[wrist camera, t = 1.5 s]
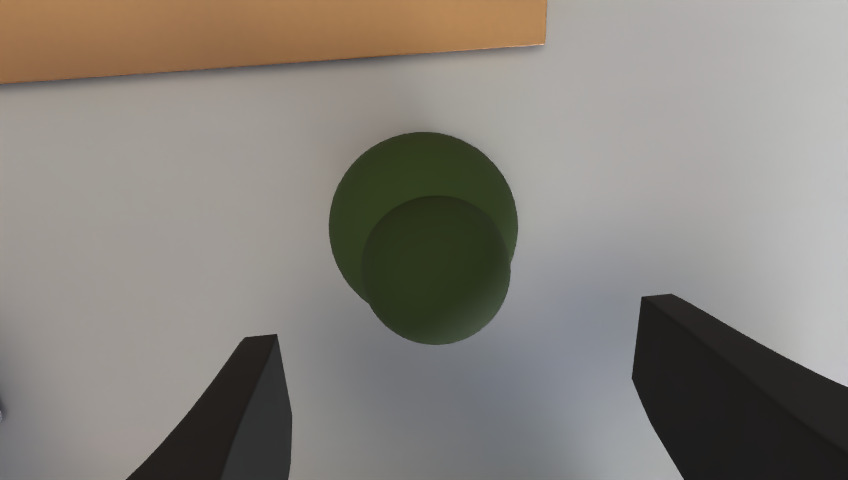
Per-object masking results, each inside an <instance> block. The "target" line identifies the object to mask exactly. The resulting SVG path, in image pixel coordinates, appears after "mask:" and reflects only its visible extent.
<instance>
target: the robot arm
mask: <svg viewBox="0 0 848 480" xmlns="http://www.w3.org/2000/svg"><path fill="white" fill-rule="evenodd" d="M632 380H633V382H634V385H635V387H636V390H637V392H638V395H639V397H640V400H641V402H642V405H643V407H644V409H645V411H646V414H647V416H648V418H649V421H650V423H651V424H652V426H653V428H654V430H655V431H656V433H657V435H658V437H659V438H660V440H661V442H662V443H663V445H664V447H665V448H666V450H667V452H668V454H669V455H670V457H671V459H672V460H673V462H674V464H675V465H676V467H677V469H678V470H679V472H680V474H681V475H682V477H683V479H684V480H848V387H846V386H844V385H841V384H839V383H837V382H834V381H832V380H830V379H828V378H826V377H824V376H822V375H819V374H817V373H815V372H813V371H811V370H809V369H807V368H805V367H803V366H801V365H800V364H798V363H796V362H794V361H792V360H790V359H788V358H786V357H784V356H782V355H780V354H778V353H776V352H774V351H773V350H771V349H769V348H767V347H765V346H763V345H762V344H760V343H758V342H756V341H754V340H753V339H751V338H749V337H747V336H746V335H744V334H742V333H740V332H739V331H737V330H735V329H733V328H732V327H730V326H728V325H727V324H725V323H723V322H721V321H720V320H718V319H716V318H715V317H713V316H711V315H709V314H708V313H706V312H704V311H703V310H701V309H699V308H697V307H696V306H694V305H692V304H690V303H688V302H687V301H685V300H683V299H681V298H679V297H677V296H675V295H673V294H664V295H654V296H645V297H642V298H641V307H640V315H639V323H638V331H637V339H636V348H635V356H634V364H633V372H632ZM1 418H2V415H1V411H0V420H1ZM291 442H292V412H291V406H290V401H289V396H288V390H287V385H286V380H285V374H284V369H283V363H282V358H281V353H280V347H279V342H278V337H277V334H272V335H263V336H253V337H245V338H244V339H243V340H242V341H241V342H240V344H239V345H238V346H237V348H236V349H235V351H234V352H233V353H232V355H231V356H230V358H229V359H228V361H227V362H226V363H225V365H224V366H223V368H222V369H221V370H220V372H219V373H218V374H217V376H216V377H215V379H214V380H213V381H212V383H211V384H210V385H209V387H208V388H207V389H206V390H205V392H204V393H203V394H202V396H201V397H200V398H199V399H198V401H197V402H196V403H195V405H194V406H193V407H192V408H191V410H190V411H189V412H188V413H187V415H186V416H185V417H184V418H183V419H182V420H181V422H180V423H179V424H178V425H177V426H176V427H175V428H174V430H173V431H172V432H171V433H170V434H169V435H168V437H167V438H166V439H165V440H164V441H163V442H162V443H161V445H160V446H159V447H158V448H157V449H156V450H155V451H154V452H153V453H152V454H151V455H150V456H149V457H148V458H147V459H146V460H145V462H144V463H143V464H142V465H141V466H140V467H139V468H137V469H136V470H135V471H134V472H133V473H132V474H131V475H130V476H129V477H128V478H127V479H126V480H288V477H289V471H290V464H291Z"/></svg>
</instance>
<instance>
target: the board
mask: <svg viewBox="0 0 848 480" xmlns="http://www.w3.org/2000/svg"><path fill="white" fill-rule="evenodd" d="M546 11H547V0H0V84H7V83H21V82H34V81H48V80H62V79H76V78H90V77H104V76H117V75H131V74H145V73H159V72H173V71H187V70H200V69H214V68H228V67H242V66H256V65H270V64H283V63H297V62H311V61H325V60H339V59H352V58H366V57H380V56H394V55H408V54H422V53H435V52H449V51H463V50H477V49H491V48H505V47H518V46H532V45H544V44H545V37H546Z"/></svg>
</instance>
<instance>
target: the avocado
mask: <svg viewBox="0 0 848 480" xmlns="http://www.w3.org/2000/svg"><path fill="white" fill-rule="evenodd" d="M517 233H518V221H517V212H516V207H515V201H514V199H513V196H512V193H511V190H510V188H509V186H508V184H507V182H506V180H505V178H504V176H503V175H502V174H501V172H500V171H499V170H498V168H497V167H496V166H495V165H494V163H493V162H492V161H491V160H490V159H489V158H488V157H487V156H486V155H484V154H483V153H482V152H481V151H479V150H478V149H477V148H475V147H473V146H471V145H470V144H468V143H466V142H464V141H462V140H460V139H457V138H455V137H452V136H448V135H444V134H440V133H431V132H415V133H409V134H403V135H399V136H396V137H392V138H390V139H387V140H385V141H383V142H380V143H379V144H377V145H375V146H373V147H372V148H370V149H369V150H368V151H366V152H365V153H364V154H362V155H361V156H360V157H359V158H358V159H357V160H356V161H355V162H354V163H353V164H352V165H351V167H350V168H349V169H348V170H347V172H346V173H345V175H344V177H343V178H342V180H341V182H340V183H339V185H338V187H337V190H336V192H335V195H334V197H333V201H332V205H331V210H330V217H329V237H330V243H331V248H332V253H333V255H334V258H335V261H336V264H337V266H338V268H339V270H340V272H341V273H342V275H343V277H344V279H345V280H346V281H347V283H348V284H349V285H350V287H351V288H352V289H353V290H354V291H355V292H356V293H357V294H358V295H359V296H360V297H361V298H362V299H363V300H365V301H366V302H367V303H369V305H370V307H371V308H372V310H373V312H374V313H375V314H376V316H377V317H378V318H379V319H380V320H381V321H382V322H383V323H384V324H385V326H387V327H388V328H389V329H390V330H392V331H393V332H395V333H396V334H398V335H400V336H402V337H403V338H406V339H408V340H411V341H414V342H418V343H423V344H430V345H442V344H449V343H454V342H458V341H461V340H463V339H466V338H468V337H470V336H472V335H474V334H475V333H477V332H478V331H480V330H481V329H482V328H483V327H484V326H486V325H487V324H488V323H489V322H490V321H491V320H492V319H493V318H494V316H495V315H496V313H497V312H498V311H499V309H500V307H501V305H502V303H503V301H504V299H505V297H506V294H507V291H508V287H509V282H510V273H511V270H510V263H511V260H512V258H513V255H514V251H515V247H516V241H517Z"/></svg>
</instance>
